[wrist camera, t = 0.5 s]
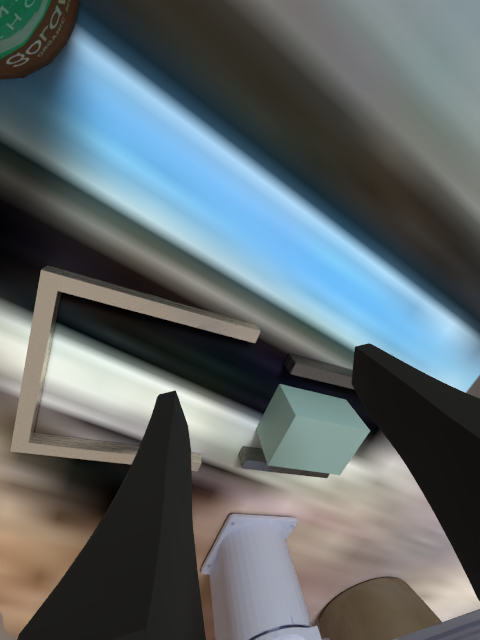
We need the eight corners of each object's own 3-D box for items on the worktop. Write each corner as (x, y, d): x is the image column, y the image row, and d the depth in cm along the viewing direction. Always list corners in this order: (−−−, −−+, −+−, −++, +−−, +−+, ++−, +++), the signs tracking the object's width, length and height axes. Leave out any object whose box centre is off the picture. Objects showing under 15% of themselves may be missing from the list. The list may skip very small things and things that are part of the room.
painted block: (319, 439, 30) (339, 475, 26) (255, 427, 27) (267, 465, 24) (344, 398, 28) (370, 430, 24) (278, 382, 26) (296, 415, 22)
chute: (313, 475, 31) (319, 488, 30) (16, 440, 23) (7, 457, 21) (384, 362, 27) (395, 371, 25) (47, 265, 18) (37, 272, 17)
